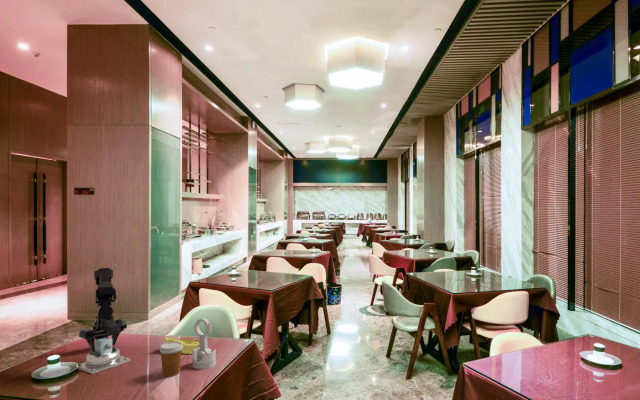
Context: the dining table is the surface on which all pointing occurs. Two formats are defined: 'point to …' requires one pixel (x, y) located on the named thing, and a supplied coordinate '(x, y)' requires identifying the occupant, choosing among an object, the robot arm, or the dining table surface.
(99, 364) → the metal mounting base
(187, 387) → the dining table surface
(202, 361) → the engine component
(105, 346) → the block with peg
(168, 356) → the disposable coffee cup
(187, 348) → the plastic component
